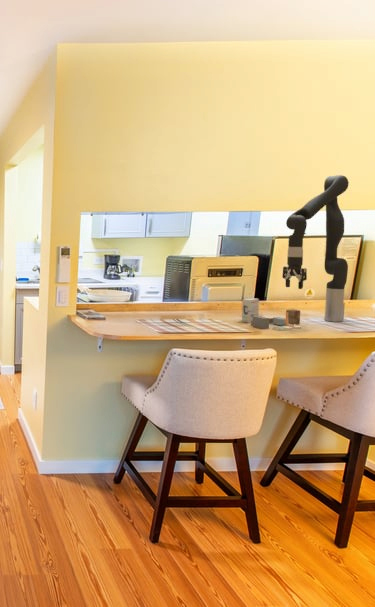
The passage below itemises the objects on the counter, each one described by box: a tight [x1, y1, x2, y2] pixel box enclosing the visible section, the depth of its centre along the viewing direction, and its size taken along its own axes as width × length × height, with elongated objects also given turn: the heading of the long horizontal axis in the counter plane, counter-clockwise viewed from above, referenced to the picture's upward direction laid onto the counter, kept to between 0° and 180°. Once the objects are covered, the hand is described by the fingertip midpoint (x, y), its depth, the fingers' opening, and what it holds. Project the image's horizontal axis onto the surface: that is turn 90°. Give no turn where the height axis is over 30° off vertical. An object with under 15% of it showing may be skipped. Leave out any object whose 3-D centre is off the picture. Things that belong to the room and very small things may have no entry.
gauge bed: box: [250, 315, 303, 332], centre depth 285 cm, size 18×18×5 cm
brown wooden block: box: [285, 308, 301, 325], centre depth 295 cm, size 5×5×7 cm
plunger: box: [272, 311, 294, 326], centre depth 287 cm, size 4×14×7 cm, turn 36°
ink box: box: [241, 297, 260, 324], centre depth 298 cm, size 9×5×12 cm, turn 141°
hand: (293, 288), depth 292 cm, fingers open, 8 cm apart
